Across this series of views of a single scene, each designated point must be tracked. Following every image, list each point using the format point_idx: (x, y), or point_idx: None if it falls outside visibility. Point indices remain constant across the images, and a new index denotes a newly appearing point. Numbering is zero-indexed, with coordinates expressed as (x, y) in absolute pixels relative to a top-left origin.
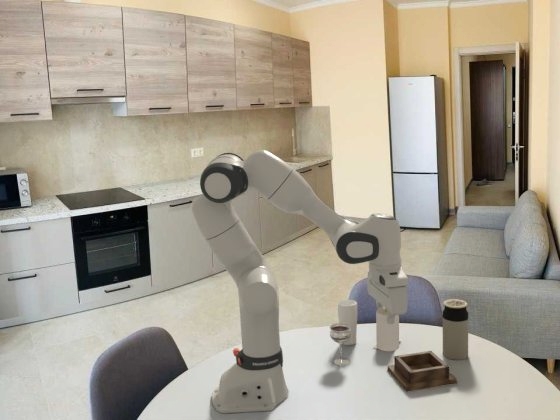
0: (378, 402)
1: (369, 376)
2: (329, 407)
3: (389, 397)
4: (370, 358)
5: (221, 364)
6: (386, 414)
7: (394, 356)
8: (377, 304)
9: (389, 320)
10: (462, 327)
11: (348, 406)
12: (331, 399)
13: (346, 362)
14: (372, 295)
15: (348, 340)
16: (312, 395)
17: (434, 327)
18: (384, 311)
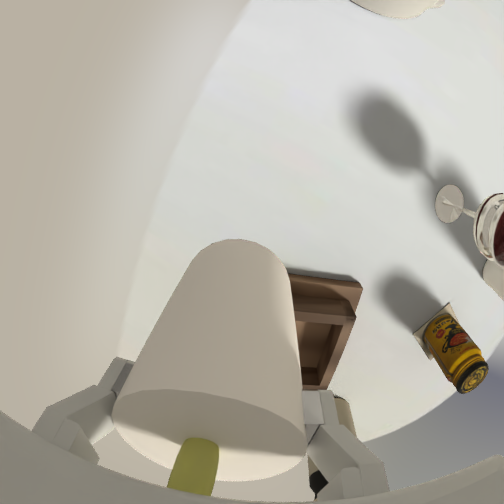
0: (228, 178)
1: (358, 226)
2: (259, 55)
3: (238, 216)
4: (424, 275)
5: (501, 3)
6: (171, 171)
7: (355, 316)
8: (347, 456)
9: (106, 378)
10: (308, 464)
11: (243, 99)
12: (295, 75)
13: (440, 211)
14: (425, 500)
15: (493, 265)
16: (334, 45)
17: (418, 416)
18: (206, 436)
